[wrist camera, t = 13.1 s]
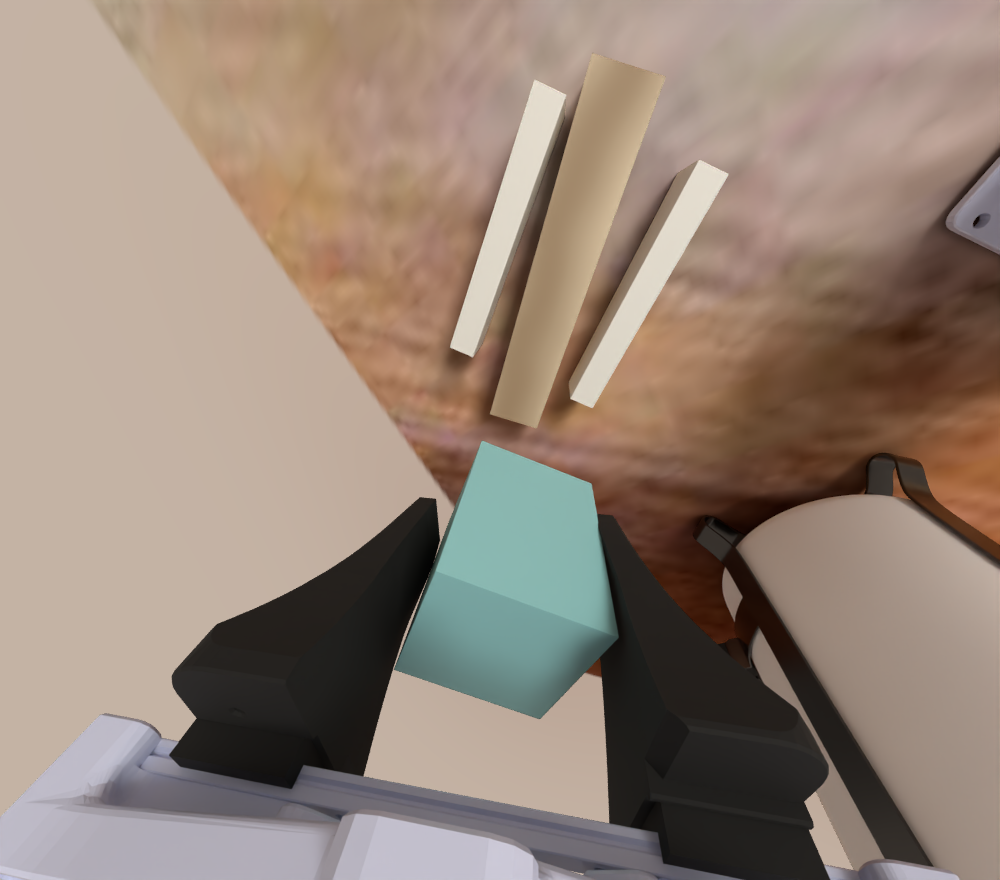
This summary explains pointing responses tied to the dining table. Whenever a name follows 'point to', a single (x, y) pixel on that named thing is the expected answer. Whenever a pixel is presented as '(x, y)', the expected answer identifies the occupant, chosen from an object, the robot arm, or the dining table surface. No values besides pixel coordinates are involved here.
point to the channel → (642, 276)
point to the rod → (575, 229)
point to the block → (514, 588)
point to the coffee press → (881, 661)
